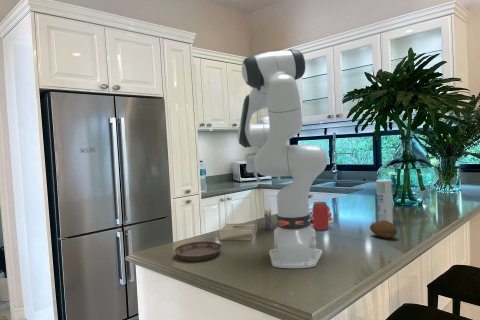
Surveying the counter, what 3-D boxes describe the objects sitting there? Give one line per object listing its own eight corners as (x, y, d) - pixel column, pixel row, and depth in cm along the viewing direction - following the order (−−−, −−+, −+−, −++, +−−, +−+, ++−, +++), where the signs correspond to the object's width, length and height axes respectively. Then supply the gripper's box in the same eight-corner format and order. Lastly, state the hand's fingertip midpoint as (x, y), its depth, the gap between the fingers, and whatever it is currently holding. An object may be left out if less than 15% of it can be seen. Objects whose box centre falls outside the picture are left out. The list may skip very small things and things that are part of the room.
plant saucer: (232, 253, 134) (231, 245, 134) (193, 267, 122) (193, 258, 122) (203, 246, 147) (202, 238, 147) (166, 257, 135) (165, 249, 135)
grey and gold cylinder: (271, 230, 165) (270, 211, 164) (264, 230, 165) (263, 211, 165) (272, 229, 168) (270, 210, 167) (265, 229, 168) (264, 210, 168)
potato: (376, 233, 148) (375, 216, 148) (403, 238, 139) (402, 220, 139) (366, 236, 144) (365, 219, 144) (393, 242, 135) (392, 223, 135)
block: (252, 239, 151) (251, 230, 151) (219, 240, 154) (219, 231, 153) (257, 231, 164) (256, 223, 164) (227, 232, 167) (226, 223, 167)
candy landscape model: (294, 230, 164) (292, 210, 164) (273, 220, 186) (272, 203, 186) (340, 223, 172) (339, 204, 172) (315, 215, 194) (314, 198, 194)
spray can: (396, 224, 161) (394, 180, 161) (384, 225, 160) (382, 181, 159) (386, 221, 168) (384, 179, 167) (375, 223, 166) (372, 180, 165)
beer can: (329, 230, 158) (327, 203, 157) (313, 230, 159) (312, 204, 159) (328, 227, 164) (327, 201, 164) (313, 227, 166) (312, 201, 165)
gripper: (243, 153, 165) (245, 183, 166) (288, 151, 161) (289, 181, 162) (246, 152, 172) (248, 181, 172) (289, 150, 167) (290, 179, 168)
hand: (268, 181), depth 167 cm, fingers open, 8 cm apart
